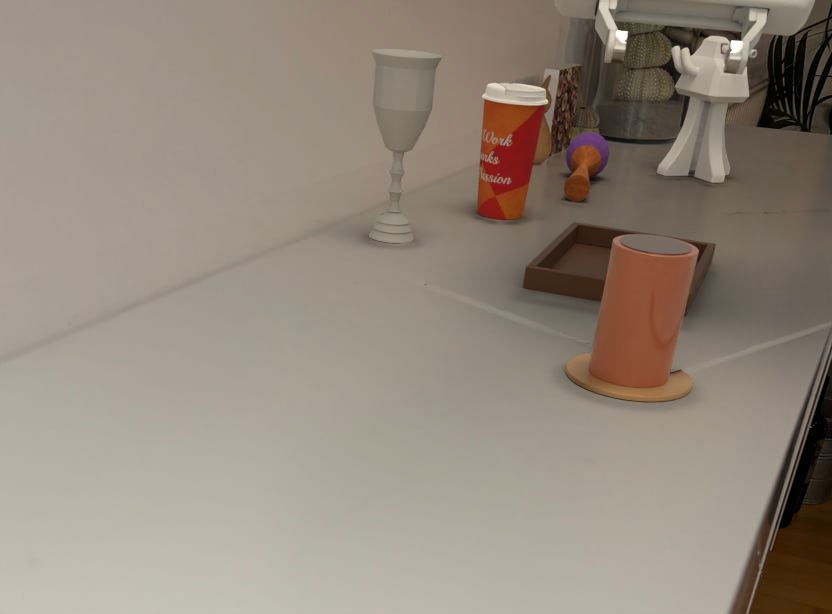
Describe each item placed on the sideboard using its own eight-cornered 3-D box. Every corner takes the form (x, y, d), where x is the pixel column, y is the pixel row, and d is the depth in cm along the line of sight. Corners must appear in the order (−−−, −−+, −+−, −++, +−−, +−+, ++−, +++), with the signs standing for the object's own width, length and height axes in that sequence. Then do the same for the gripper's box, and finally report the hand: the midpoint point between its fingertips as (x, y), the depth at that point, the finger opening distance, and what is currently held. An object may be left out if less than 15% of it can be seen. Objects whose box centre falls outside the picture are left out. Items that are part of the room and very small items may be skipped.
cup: (684, 378, 87) (716, 249, 81) (636, 393, 83) (666, 260, 78) (620, 354, 91) (646, 229, 85) (571, 368, 87) (595, 239, 81)
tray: (684, 322, 101) (690, 294, 99) (521, 293, 105) (525, 266, 103) (710, 268, 118) (716, 243, 116) (569, 245, 122) (573, 221, 120)
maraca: (552, 166, 139) (567, 129, 155) (554, 213, 143) (568, 173, 158) (600, 162, 138) (610, 125, 153) (600, 210, 141) (610, 170, 156)
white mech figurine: (689, 185, 155) (721, 42, 145) (636, 165, 165) (662, 31, 155) (755, 183, 159) (791, 45, 149) (700, 164, 169) (730, 33, 159)
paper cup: (457, 206, 134) (472, 81, 126) (512, 205, 137) (530, 82, 129) (485, 222, 128) (502, 91, 120) (542, 221, 131) (562, 92, 123)
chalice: (352, 239, 118) (364, 53, 108) (366, 226, 123) (379, 47, 113) (418, 248, 116) (436, 60, 106) (429, 234, 122) (447, 54, 112)
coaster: (715, 385, 87) (716, 380, 87) (641, 411, 81) (642, 406, 81) (615, 348, 93) (616, 344, 93) (540, 370, 87) (540, 365, 87)
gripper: (808, -45, 90) (795, 102, 88) (562, -64, 92) (543, 79, 90) (836, -110, 84) (823, 46, 82) (572, -129, 86) (552, 22, 84)
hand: (674, 63), depth 86 cm, fingers open, 8 cm apart
